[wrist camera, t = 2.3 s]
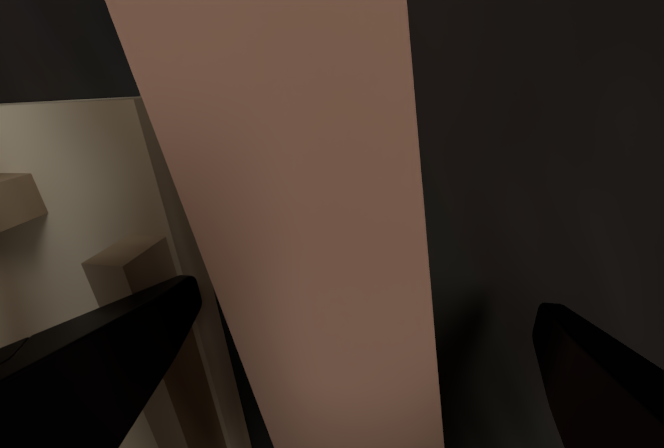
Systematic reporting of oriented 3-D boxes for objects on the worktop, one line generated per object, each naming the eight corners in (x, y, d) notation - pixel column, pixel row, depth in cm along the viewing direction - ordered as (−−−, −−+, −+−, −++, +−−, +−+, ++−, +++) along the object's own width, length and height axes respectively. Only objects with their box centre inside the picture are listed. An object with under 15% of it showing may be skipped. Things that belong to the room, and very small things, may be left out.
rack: (165, 94, 9) (31, 111, 6) (272, 534, 18) (243, 635, 15) (-217, 114, 12) (-434, 131, 9) (35, 476, 21) (-30, 548, 18)
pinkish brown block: (403, -32, 7) (395, -131, 4) (441, 424, 12) (454, 568, 9) (233, 15, 8) (95, -25, 5) (336, 417, 13) (310, 543, 10)
